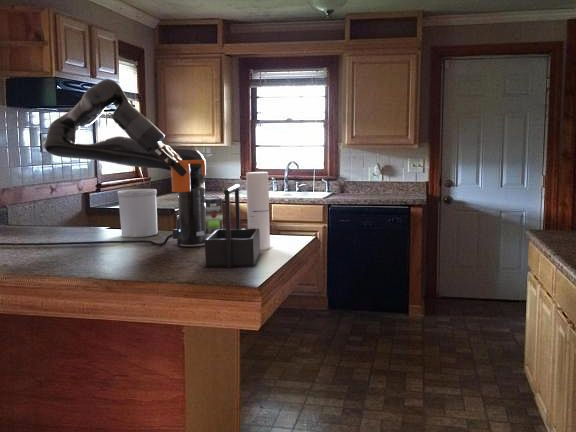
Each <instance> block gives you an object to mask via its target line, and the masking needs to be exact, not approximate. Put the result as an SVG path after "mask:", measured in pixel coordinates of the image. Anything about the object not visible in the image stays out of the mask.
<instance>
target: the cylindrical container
mask: <svg viewBox="0 0 576 432" xmlns="http://www.w3.org/2000/svg"><path fill="white" fill-rule="evenodd" d="M245 174H246V175H245V177H246V182H245V183H246V208H247V209H246V210H247V212H246V213H247V229H259V231H260V251H264V250H270V249H271V234H270V233H271V230H270V228H271V227H270V226H271V225H270V195H269V194H270V192H269V190H270V189H269V172H268V171H251V172H250V171H249V172H246V173H245Z"/></svg>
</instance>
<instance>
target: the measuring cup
mask: <svg viewBox="0 0 576 432" xmlns="http://www.w3.org/2000/svg"><path fill="white" fill-rule="evenodd" d="M206 161H207V160H206V159H204V160H188V161H177V163H179V164H180V165H181V166H183V167H184V168H185V169H186V170H187V173H186V174H185V175H184V176H181V175H179V174H178V173H177V172H176V171H175V170H174V169H173V168H171V171H170V172H171V173H170V174H171V175H170V176H171V192H172V193H178V192H189V191H191V185H190V164H201V163H202V176H204V177H205V176H207V162H206Z"/></svg>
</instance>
